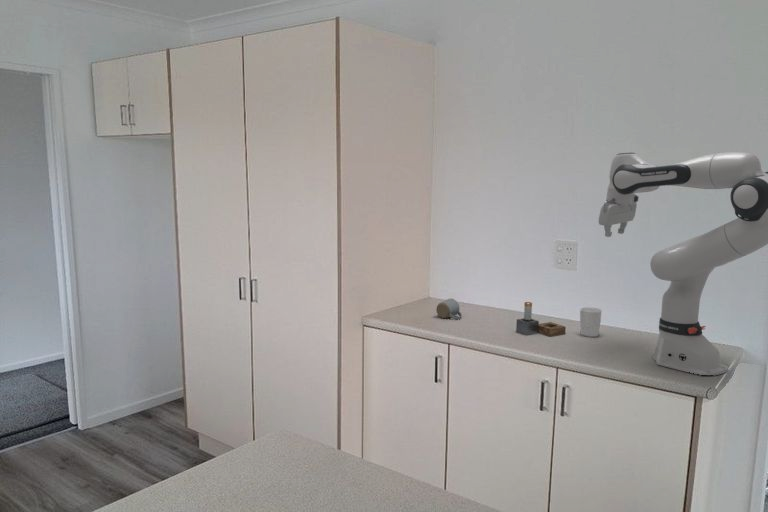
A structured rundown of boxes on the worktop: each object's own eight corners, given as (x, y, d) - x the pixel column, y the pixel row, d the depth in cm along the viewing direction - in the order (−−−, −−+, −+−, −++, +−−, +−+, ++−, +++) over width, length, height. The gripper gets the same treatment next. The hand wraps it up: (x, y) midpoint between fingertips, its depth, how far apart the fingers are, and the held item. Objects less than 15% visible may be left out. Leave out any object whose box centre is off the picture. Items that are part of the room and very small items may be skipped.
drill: (532, 332, 233) (533, 303, 231) (526, 333, 231) (528, 304, 229) (527, 331, 235) (528, 301, 233) (521, 332, 234) (522, 302, 232)
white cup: (577, 335, 229) (578, 310, 227) (580, 330, 236) (582, 306, 234) (598, 338, 225) (600, 312, 224) (601, 333, 232) (603, 308, 231)
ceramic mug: (434, 317, 257) (435, 300, 256) (445, 313, 263) (445, 297, 262) (455, 321, 250) (456, 304, 249) (465, 318, 257) (466, 300, 255)
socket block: (538, 333, 232) (538, 320, 231) (526, 335, 229) (527, 322, 228) (527, 329, 237) (528, 317, 236) (516, 331, 234) (516, 319, 234)
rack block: (565, 334, 231) (565, 326, 230) (550, 336, 227) (550, 329, 227) (550, 329, 238) (550, 322, 237) (535, 331, 234) (535, 324, 233)
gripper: (613, 201, 203) (608, 240, 207) (641, 196, 216) (635, 233, 220) (596, 198, 208) (591, 236, 211) (624, 194, 221) (619, 230, 224)
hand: (614, 235), depth 216 cm, fingers open, 8 cm apart
